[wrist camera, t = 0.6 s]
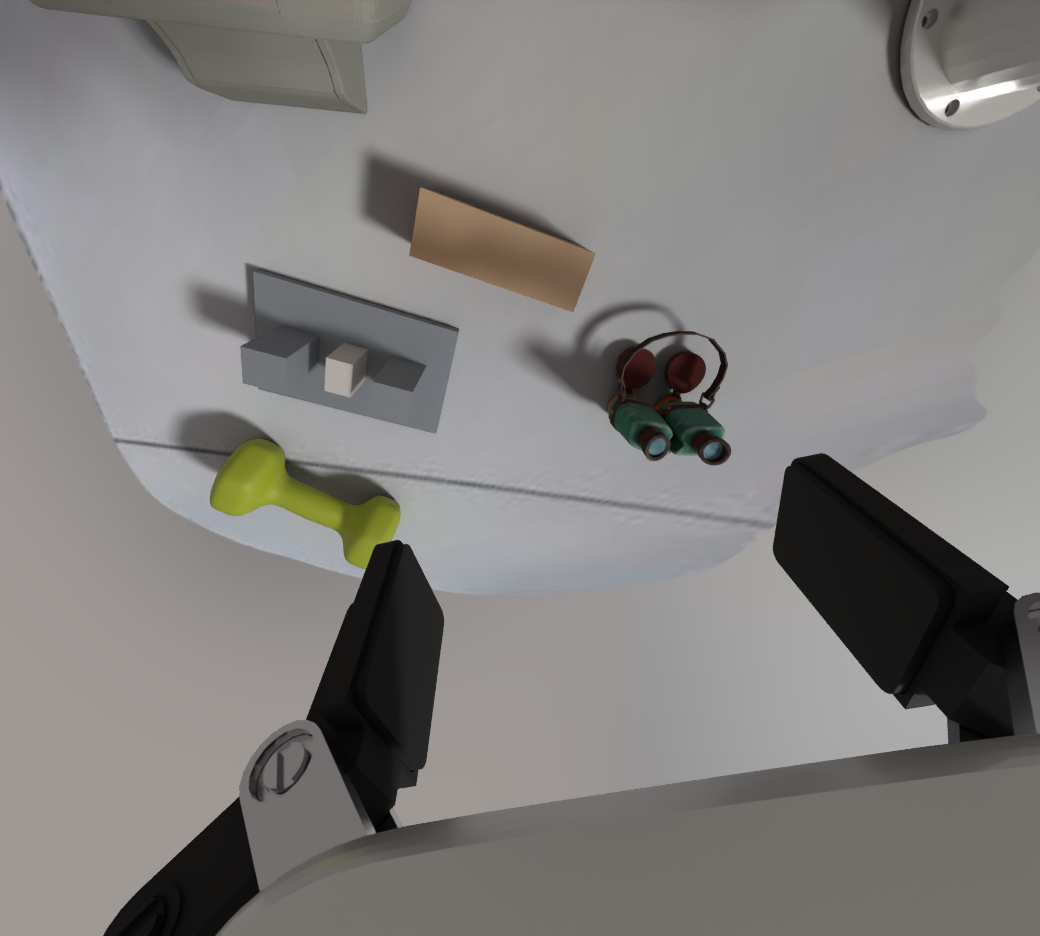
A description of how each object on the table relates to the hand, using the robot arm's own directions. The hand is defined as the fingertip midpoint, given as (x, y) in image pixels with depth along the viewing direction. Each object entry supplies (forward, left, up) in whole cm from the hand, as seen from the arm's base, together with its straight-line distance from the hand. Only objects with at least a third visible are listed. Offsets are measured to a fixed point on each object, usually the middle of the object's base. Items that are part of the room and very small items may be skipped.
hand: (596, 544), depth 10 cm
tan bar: (-3, -4, -28) cm, 29 cm away
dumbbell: (+23, -16, -29) cm, 40 cm away
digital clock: (-12, -20, -29) cm, 37 cm away
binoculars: (+3, +12, -29) cm, 31 cm away
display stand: (+9, -14, -28) cm, 33 cm away
